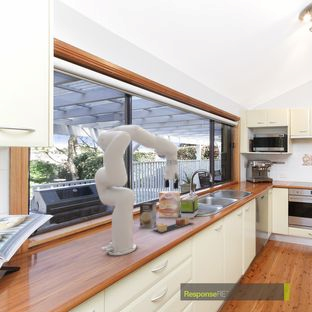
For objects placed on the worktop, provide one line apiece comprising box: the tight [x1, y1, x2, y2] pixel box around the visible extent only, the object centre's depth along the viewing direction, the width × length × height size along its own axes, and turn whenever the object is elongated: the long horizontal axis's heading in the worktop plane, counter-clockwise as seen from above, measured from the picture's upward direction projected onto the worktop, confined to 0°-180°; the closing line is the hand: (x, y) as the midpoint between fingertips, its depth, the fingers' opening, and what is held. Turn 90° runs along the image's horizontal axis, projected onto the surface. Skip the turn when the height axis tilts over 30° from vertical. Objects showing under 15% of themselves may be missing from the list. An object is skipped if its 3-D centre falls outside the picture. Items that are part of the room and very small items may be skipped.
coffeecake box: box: [158, 190, 181, 219], centre depth 173 cm, size 15×7×20 cm, turn 88°
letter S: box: [175, 217, 184, 226], centre depth 149 cm, size 4×4×4 cm
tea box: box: [180, 195, 199, 219], centre depth 175 cm, size 15×10×15 cm
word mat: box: [152, 217, 194, 235], centre depth 146 cm, size 26×10×4 cm, turn 142°
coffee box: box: [139, 201, 158, 229], centre depth 147 cm, size 9×6×16 cm
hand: (171, 187), depth 148 cm, fingers open, 9 cm apart
